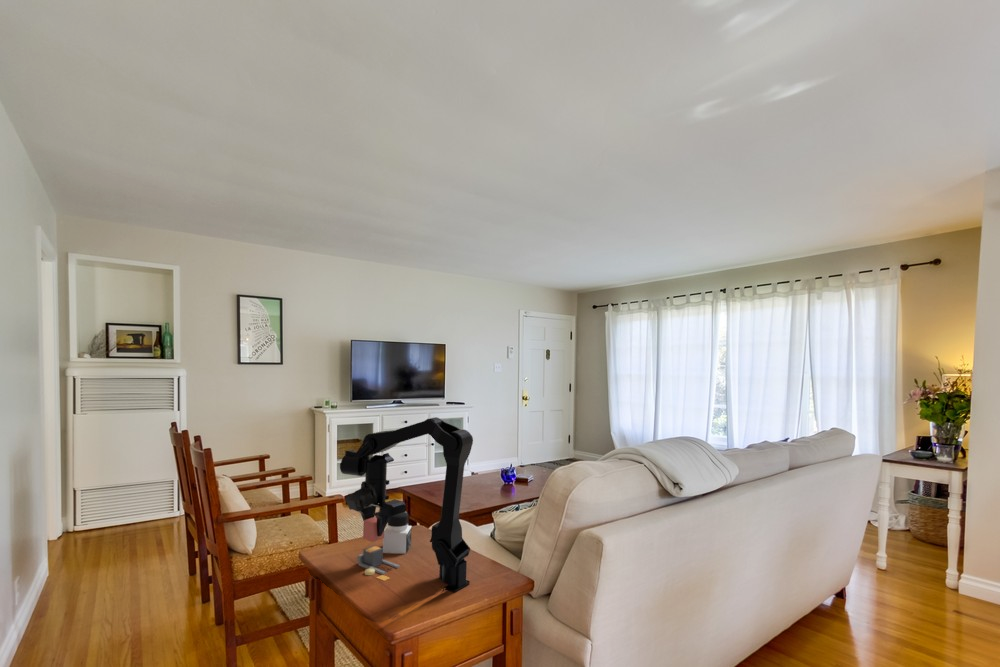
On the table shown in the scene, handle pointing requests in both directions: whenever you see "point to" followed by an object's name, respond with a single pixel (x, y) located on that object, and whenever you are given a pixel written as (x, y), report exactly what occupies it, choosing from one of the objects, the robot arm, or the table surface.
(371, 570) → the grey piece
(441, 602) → the table surface
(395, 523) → the medicine bottle
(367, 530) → the pink block
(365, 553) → the dark grey cube
